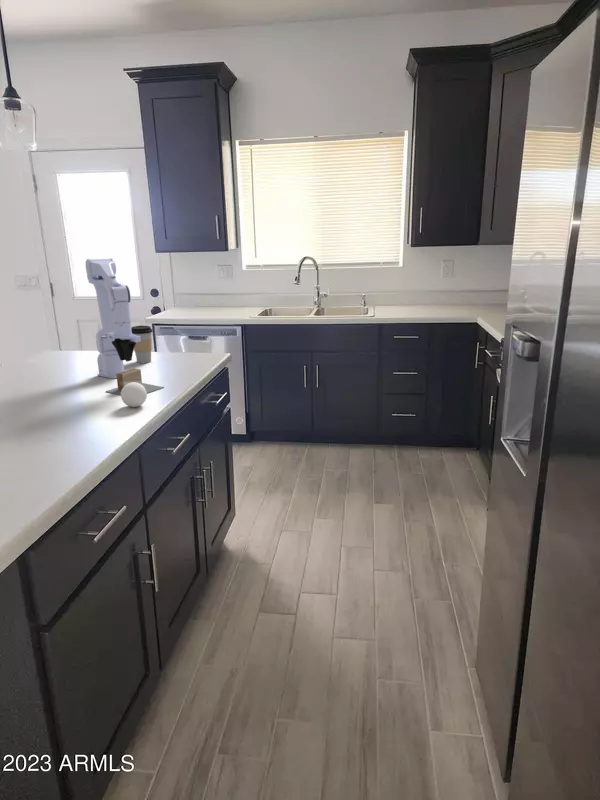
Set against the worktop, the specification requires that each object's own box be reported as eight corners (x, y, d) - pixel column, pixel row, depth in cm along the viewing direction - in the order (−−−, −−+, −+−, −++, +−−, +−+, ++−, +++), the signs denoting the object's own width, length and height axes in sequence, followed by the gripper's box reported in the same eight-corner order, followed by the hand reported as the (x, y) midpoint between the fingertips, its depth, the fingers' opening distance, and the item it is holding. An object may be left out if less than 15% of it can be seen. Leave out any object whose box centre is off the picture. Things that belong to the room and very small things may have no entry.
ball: (134, 412, 163) (132, 387, 160) (116, 408, 166) (113, 384, 164) (153, 404, 169) (151, 381, 167) (135, 401, 173) (133, 378, 171)
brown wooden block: (118, 389, 185) (116, 373, 183) (135, 384, 191) (133, 368, 189) (125, 391, 183) (123, 374, 181) (142, 385, 189) (140, 369, 188)
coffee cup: (145, 358, 232) (142, 324, 227) (160, 361, 227) (157, 326, 222) (128, 362, 224) (124, 327, 220) (142, 365, 219) (138, 329, 215)
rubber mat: (105, 392, 183) (105, 391, 183) (136, 382, 194) (136, 381, 194) (134, 398, 176) (133, 397, 176) (163, 387, 188) (163, 387, 188)
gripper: (98, 321, 180) (102, 360, 184) (127, 325, 173) (131, 365, 177) (114, 318, 185) (118, 356, 190) (143, 322, 178) (147, 361, 183)
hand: (126, 360), depth 184 cm, fingers closed
